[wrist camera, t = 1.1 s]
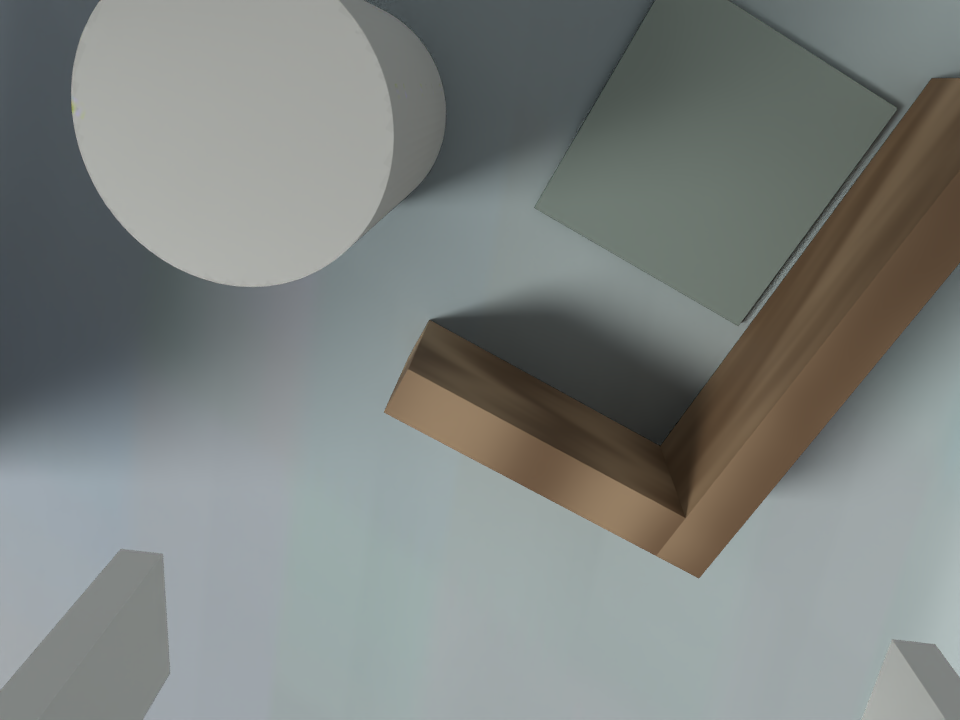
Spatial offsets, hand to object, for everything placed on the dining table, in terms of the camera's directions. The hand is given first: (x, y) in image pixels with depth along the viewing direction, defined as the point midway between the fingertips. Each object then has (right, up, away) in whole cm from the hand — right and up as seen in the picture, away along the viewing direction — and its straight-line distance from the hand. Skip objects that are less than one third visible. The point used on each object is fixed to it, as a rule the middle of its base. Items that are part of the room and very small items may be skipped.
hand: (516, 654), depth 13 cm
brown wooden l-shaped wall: (+8, +11, +17) cm, 21 cm away
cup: (-6, +15, +16) cm, 23 cm away
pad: (+8, +13, +16) cm, 22 cm away
